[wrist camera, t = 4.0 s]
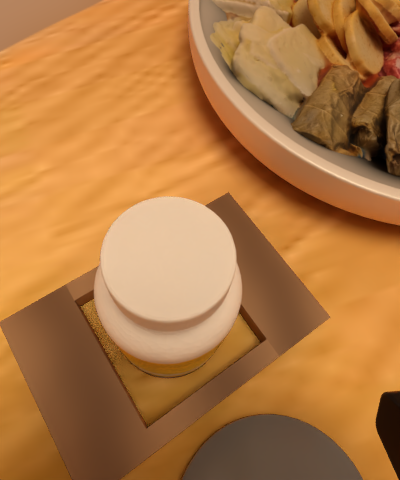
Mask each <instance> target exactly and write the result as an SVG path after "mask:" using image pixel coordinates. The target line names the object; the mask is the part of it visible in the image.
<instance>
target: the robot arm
mask: <svg viewBox="0 0 400 480" xmlns="http://www.w3.org/2000/svg"><path fill="white" fill-rule="evenodd" d="M376 428H377V432H378V434H379V437H380V439H381V441H382V443H383V445H384V448H385V450H386V452H387V454H388V457H389V459H390V461H391V463H392V466H393V468H394V470H395V472H396V474H397V477H398V479H399V480H400V391H392V392H385V393H383V394H382V395H381V398H380V403H379V407H378V412H377V416H376Z"/></svg>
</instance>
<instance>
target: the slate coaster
mask: <svg viewBox="0 0 400 480" xmlns="http://www.w3.org/2000/svg"><path fill="white" fill-rule="evenodd" d="M181 480H363V479H362V477H361V475H360V473H359V472H358V470H357V469H356V467H355V465H354V464H353V462H352V461H351V460H350V458H349V457H348V456H347V455H346V454H345V452H344V451H343V450H342V449H341V448H340V447H339V446H338V445H337V444H336V443H335V442H334V441H333V440H332V439H331V438H329V437H328V436H327V435H325V434H324V433H323V432H322V431H320V430H318V429H317V428H315V427H313V426H311V425H310V424H307V423H305V422H303V421H300V420H298V419H295V418H291V417H287V416H281V415H274V414H259V415H253V416H247V417H244V418H241V419H238V420H235V421H233V422H231V423H229V424H227V425H225V426H224V427H222V428H221V429H219V430H218V431H216V432H215V433H214V434H213V435H212V436H210V437H209V438H208V439H207V440H206V441H205V442H204V443H203V445H202V446H201V447H200V448H199V449H198V450H197V452H196V453H195V455H194V456H193V458H192V459H191V461H190V463H189V464H188V466H187V468H186V470H185V472H184V474H183V477H182V479H181Z"/></svg>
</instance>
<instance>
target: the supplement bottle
mask: <svg viewBox="0 0 400 480" xmlns="http://www.w3.org/2000/svg"><path fill="white" fill-rule="evenodd" d="M241 300H242V280H241V274H240V270H239V267H238V264H237V262H236V248H235V244H234V241H233V238H232V235H231V233H230V231H229V229H228V228H227V226H226V225H225V223H224V222H223V221H222V220H221V218H220V217H219V216H217V215H216V214H215V213H214V212H213V211H212V210H210V209H209V208H207V207H206V206H204V205H202V204H200V203H198V202H196V201H193V200H190V199H186V198H181V197H158V198H153V199H148V200H145V201H142V202H140V203H138V204H136V205H134V206H132V207H130V208H129V209H127V210H126V211H125V212H124V213H122V214H121V215H120V216H119V217H118V218H117V219H116V220H115V221H114V222H113V224H112V225H111V227H110V228H109V230H108V232H107V234H106V236H105V238H104V241H103V244H102V248H101V253H100V264H99V266H98V269H97V272H96V276H95V282H94V301H95V306H96V310H97V314H98V317H99V319H100V321H101V323H102V325H103V327H104V329H105V331H106V332H107V334H108V335H109V337H110V338H111V339H112V341H113V342H114V343H115V344H116V345H117V346H118V348H119V349H120V350H121V351H122V353H123V354H124V355H125V356H126V357H127V359H128V360H129V361H130V362H131V363H132V364H133V365H134V366H136V367H137V368H138V369H140V370H141V371H143V372H145V373H147V374H149V375H152V376H156V377H161V378H175V377H181V376H184V375H187V374H189V373H191V372H193V371H195V370H197V369H198V368H200V367H201V366H203V365H204V364H205V363H206V362H207V361H208V360H209V359H210V358H211V356H212V355H213V353H214V352H215V351H216V350H217V348H218V347H219V345H220V344H221V343H222V341H223V340H224V339H225V337H226V336H227V335H228V333H229V331H230V330H231V328H232V326H233V324H234V322H235V320H236V318H237V315H238V312H239V309H240V305H241Z"/></svg>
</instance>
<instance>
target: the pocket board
mask: <svg viewBox="0 0 400 480" xmlns="http://www.w3.org/2000/svg"><path fill="white" fill-rule="evenodd" d="M205 206H206V207H207V208H209V209H210V210H212V211H213V212H214V213H215V214H216V215H217V216H219V217H220V218H221V220H222V221H223V222H224V223H225V225H226V226H227V228H228V229H229V231H230V233H231V235H232V238H233V241H234V244H235V248H236V262H237V264H238V267H239V270H240V274H241V280H242V300H241V305H240V309H239V313H240V314H241V315H242V317H243V318H244V319H245V321H246V322H247V324H248V325H249V326H250V328H251V329H252V330H253V332H254V333H255V335H256V336H257V337H258V339H259V340H260V341H261V344H259V345H258V346H257V347H255V348H254V349H253V350H251V351H250V352H249V353H247V354H246V355H245V356H243V357H242V358H241V359H239V360H238V361H237V362H235V363H234V364H233V365H231V366H230V367H229V368H227V369H226V370H224V371H223V372H222V373H220V374H219V375H218V376H216V377H215V378H214V379H212V380H211V381H210V382H208V383H207V384H206V385H204V386H203V387H202V388H200V389H199V390H198V391H196V392H195V393H193V394H192V395H191V396H189V397H188V398H187V399H185V400H184V401H183V402H181V403H180V404H179V405H177V406H176V407H175V408H173V409H172V410H171V411H169V412H168V413H167V414H165V415H164V416H163V417H161V418H160V419H158V420H157V421H156V422H154V423H153V424H152V425H150V426H149V427H147V425H146V423H145V421H144V420H143V418H142V416H141V414H140V412H139V411H138V409H137V407H136V405H135V404H134V402H133V400H132V398H131V396H130V395H129V393H128V391H127V389H126V387H125V386H124V384H123V382H122V380H121V379H120V377H119V375H118V373H117V371H116V370H115V368H114V366H113V364H112V363H111V361H110V359H109V357H108V355H107V354H106V352H105V350H104V348H103V346H102V345H101V343H100V341H99V339H98V338H97V336H96V334H95V332H94V330H93V329H92V327H91V325H90V323H89V322H88V320H87V318H86V316H85V314H84V313H83V311H82V309H81V307H80V306H82V305H83V304H85V303H87V302H88V301H90V300H92V299H94V282H95V276H96V272H97V269H98V267H96V268H94V269H92V270H91V271H89V272H87V273H85V274H84V275H82V276H80V277H78V278H77V279H75V280H73V281H71V282H69V283H68V284H66V285H64V286H62V287H61V288H59V289H57V290H55V291H54V292H52V293H50V294H48V295H47V296H45V297H43V298H41V299H39V300H38V301H36V302H34V303H32V304H31V305H29V306H27V307H25V308H24V309H22V310H20V311H18V312H17V313H15V314H13V315H11V316H9V317H8V318H6V319H4V320H2V321H1V322H0V326H1V328H2V331H3V333H4V335H5V337H6V339H7V341H8V343H9V346H10V348H11V350H12V352H13V354H14V356H15V358H16V361H17V363H18V365H19V367H20V369H21V371H22V373H23V376H24V378H25V380H26V382H27V384H28V386H29V388H30V391H31V393H32V395H33V397H34V399H35V401H36V403H37V406H38V408H39V410H40V412H41V414H42V416H43V418H44V421H45V423H46V425H47V427H48V429H49V431H50V433H51V436H52V438H53V440H54V442H55V444H56V446H57V448H58V451H59V453H60V455H61V457H62V459H63V461H64V463H65V466H66V468H67V470H68V472H69V474H70V476H71V478H72V480H120V479H121V478H122V477H124V476H125V475H126V474H128V473H129V472H130V471H131V470H133V469H134V468H135V467H137V466H138V465H139V464H141V463H142V462H143V461H144V460H146V459H147V458H148V457H150V456H151V455H152V454H154V453H155V452H156V451H157V450H159V449H160V448H161V447H163V446H164V445H165V444H167V443H168V442H169V441H170V440H172V439H173V438H174V437H176V436H177V435H178V434H179V433H181V432H182V431H183V430H185V429H186V428H187V427H189V426H190V425H191V424H192V423H194V422H195V421H196V420H198V419H199V418H200V417H202V416H203V415H204V414H205V413H207V412H208V411H209V410H211V409H212V408H213V407H215V406H216V405H217V404H218V403H220V402H221V401H222V400H224V399H225V398H226V397H227V396H229V395H230V394H231V393H233V392H234V391H235V390H237V389H238V388H239V387H240V386H242V385H243V384H244V383H246V382H247V381H248V380H250V379H251V378H252V377H253V376H255V375H256V374H257V373H259V372H260V371H261V370H263V369H264V368H265V367H266V366H268V365H269V364H270V363H272V362H273V361H274V360H275V359H277V358H278V357H279V356H281V355H282V354H283V353H285V352H286V351H287V350H288V349H290V348H291V347H292V346H294V345H295V344H296V343H298V342H299V341H300V340H301V339H303V338H304V337H305V336H307V335H308V334H309V333H311V332H312V331H313V330H314V329H316V328H317V327H318V326H320V325H321V324H322V323H324V322H325V321H326V320H327V319H329V318H330V316H329V315H328V314H327V312H326V311H325V310H324V309H323V307H322V306H321V305H320V304H319V302H318V301H317V300H316V299H315V298H314V296H313V295H312V294H311V293H310V291H309V290H308V289H307V288H306V287H305V285H304V284H303V283H302V282H301V280H300V279H299V278H298V277H297V276H296V274H295V273H294V272H293V271H292V269H291V268H290V267H289V266H288V265H287V263H286V262H285V261H284V260H283V258H282V257H281V256H280V255H279V254H278V252H277V251H276V250H275V249H274V247H273V246H272V245H271V244H270V243H269V241H268V240H267V239H266V238H265V236H264V235H263V234H262V233H261V232H260V230H259V229H258V228H257V227H256V225H255V224H254V223H253V222H252V220H251V219H250V218H249V217H248V216H247V214H246V213H245V212H244V211H243V209H242V208H241V207H240V206H239V205H238V203H237V202H236V201H235V200H234V198H233V197H232V196H231V195H230V194H229V192H228V193H227V194H225V195H223V196H221V197H220V198H218V199H216V200H214V201H212V202H211V203H209V204H207V205H205Z"/></svg>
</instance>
